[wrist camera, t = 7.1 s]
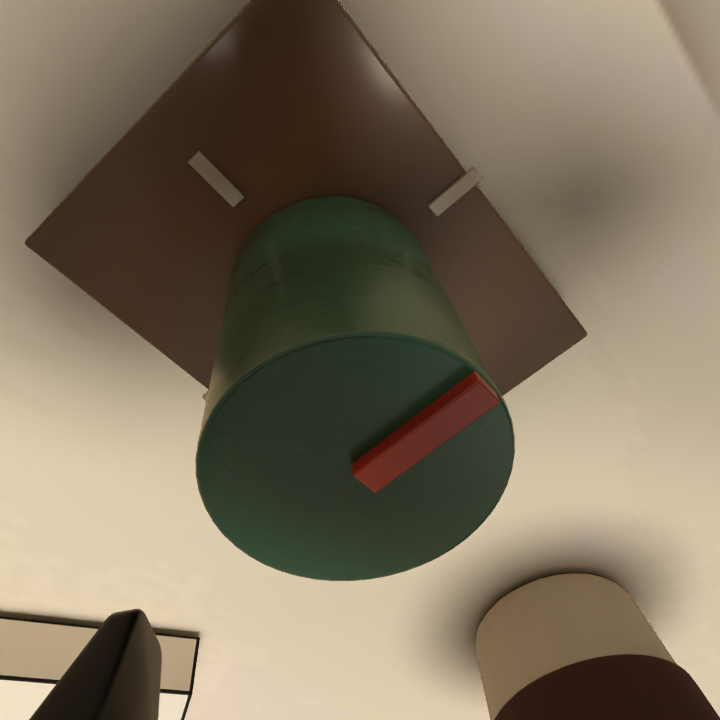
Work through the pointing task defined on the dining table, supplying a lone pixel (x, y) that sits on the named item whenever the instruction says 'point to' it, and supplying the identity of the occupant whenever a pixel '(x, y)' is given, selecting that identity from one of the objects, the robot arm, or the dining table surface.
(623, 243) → the dining table surface
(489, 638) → the coffee cup
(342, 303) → the green drum
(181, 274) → the brown board with bars
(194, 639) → the white box
